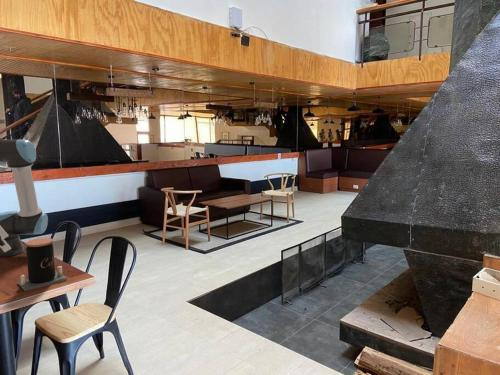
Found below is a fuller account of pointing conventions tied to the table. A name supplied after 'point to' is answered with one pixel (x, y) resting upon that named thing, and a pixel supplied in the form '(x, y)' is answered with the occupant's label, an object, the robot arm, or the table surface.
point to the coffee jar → (40, 260)
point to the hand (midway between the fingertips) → (6, 243)
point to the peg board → (29, 286)
